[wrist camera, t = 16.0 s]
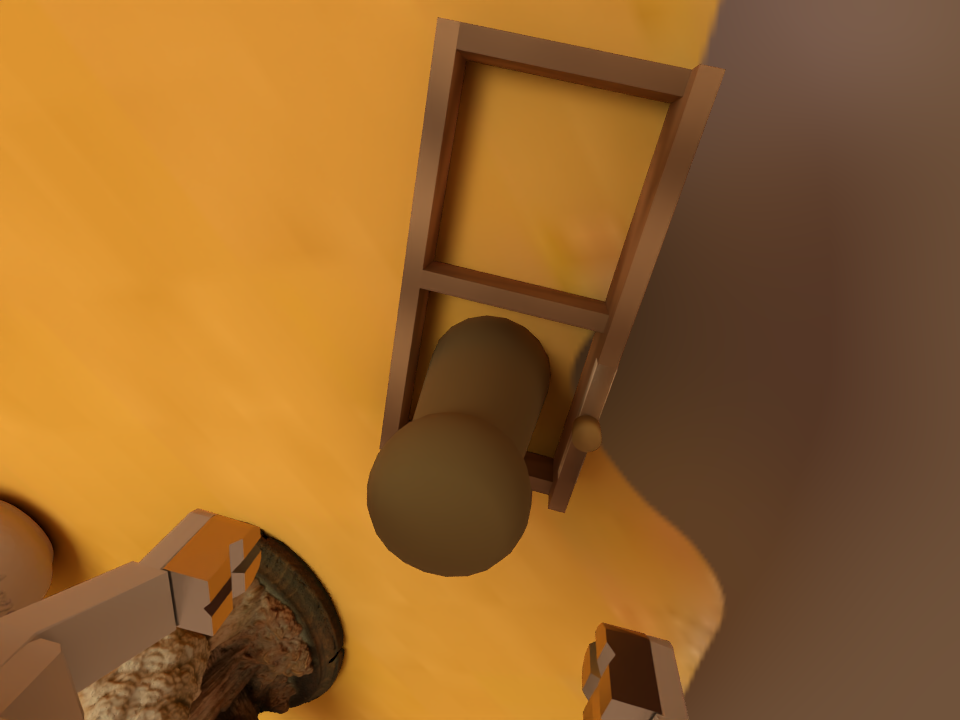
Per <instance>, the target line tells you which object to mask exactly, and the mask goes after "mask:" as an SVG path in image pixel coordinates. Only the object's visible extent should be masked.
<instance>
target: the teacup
mask: <svg viewBox="0 0 960 720" xmlns="http://www.w3.org/2000/svg"><path fill="white" fill-rule="evenodd" d="M53 557H54V556H53V547H52V544H51V542H50V540H49V538H48V537H47V535H46V534H45V532H44V531H43V530H42V529H41V527H40V526H39V525H38V524H37V523H36V522H35V521H33V520H32V519H31V518H30V517H29V516H28V515H27V514H25V513H24V512H22V511H21V510H20V509H18V508H16V507H15V506H13V505H11V504H9V503H6V502H4V501H1V500H0V618H1V617H3V616H5V615H8V614H10V613H12V612H15V611H17V610H19V609H22V608H24V607H26V606H29V605H31V604H33V603H36V602H38V601H40V600H42V599H43V597H44V596H45V595H46V593H47V591H48V589H49V587H50V584H51V581H52V562H53Z"/></svg>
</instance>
